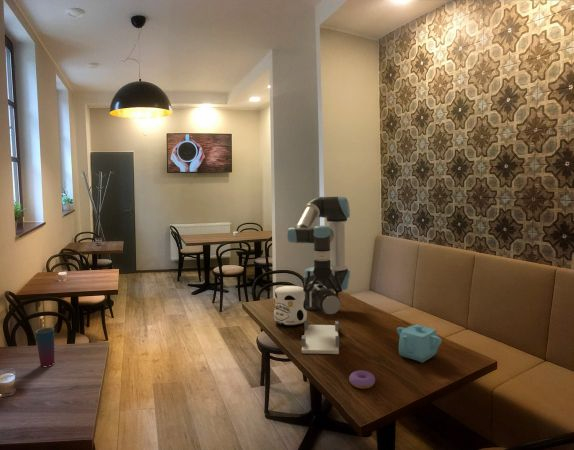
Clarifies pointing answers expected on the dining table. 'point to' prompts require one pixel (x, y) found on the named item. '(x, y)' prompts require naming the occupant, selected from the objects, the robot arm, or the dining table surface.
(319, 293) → the muzzle brake
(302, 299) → the milk container
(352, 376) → the donut
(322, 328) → the mounting board
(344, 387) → the dining table surface
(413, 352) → the teapot
